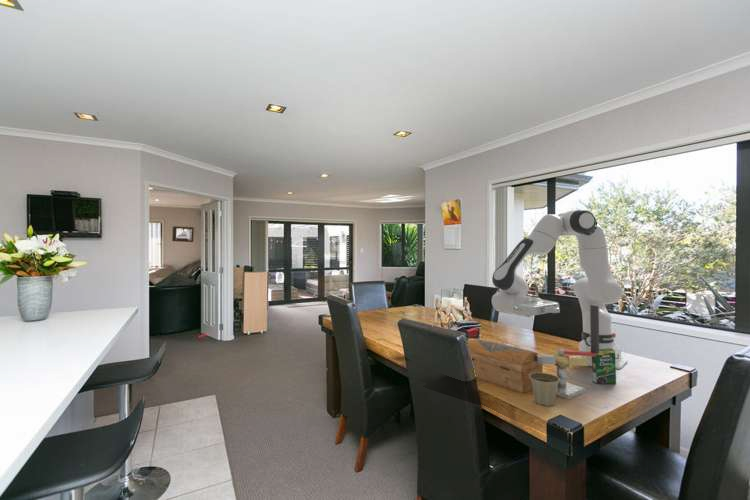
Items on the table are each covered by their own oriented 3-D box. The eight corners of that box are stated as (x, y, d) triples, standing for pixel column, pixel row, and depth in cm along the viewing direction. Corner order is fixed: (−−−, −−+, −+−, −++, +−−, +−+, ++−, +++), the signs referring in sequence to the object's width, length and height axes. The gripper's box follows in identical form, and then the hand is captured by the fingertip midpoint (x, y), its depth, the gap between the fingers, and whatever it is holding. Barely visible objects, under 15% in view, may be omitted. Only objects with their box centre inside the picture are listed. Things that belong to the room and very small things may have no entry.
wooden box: (545, 384, 137) (544, 348, 137) (522, 395, 127) (521, 356, 127) (480, 365, 161) (479, 334, 161) (456, 373, 151) (456, 340, 151)
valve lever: (558, 355, 129) (557, 304, 129) (556, 353, 132) (556, 303, 132) (600, 358, 125) (599, 306, 125) (598, 355, 128) (597, 305, 128)
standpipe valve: (554, 381, 140) (553, 348, 140) (591, 392, 128) (590, 356, 128) (533, 388, 132) (532, 353, 132) (570, 401, 121) (570, 363, 121)
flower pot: (551, 411, 114) (550, 384, 114) (523, 401, 121) (523, 376, 121) (565, 403, 119) (565, 378, 119) (538, 394, 127) (538, 370, 127)
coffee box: (596, 384, 136) (595, 350, 136) (591, 381, 139) (590, 348, 139) (616, 384, 136) (616, 350, 136) (611, 381, 139) (611, 348, 139)
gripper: (510, 300, 145) (542, 304, 133) (539, 297, 156) (571, 300, 144) (510, 316, 145) (542, 321, 133) (539, 311, 156) (571, 316, 144)
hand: (557, 310), depth 139 cm, fingers closed
